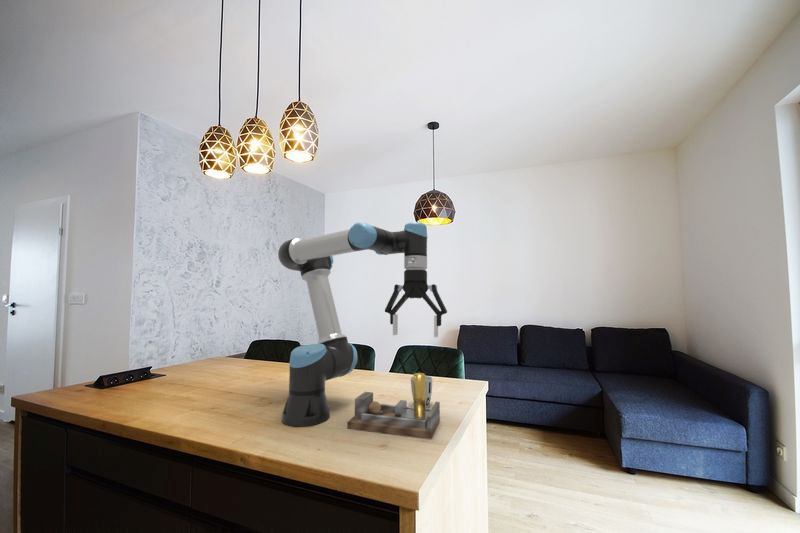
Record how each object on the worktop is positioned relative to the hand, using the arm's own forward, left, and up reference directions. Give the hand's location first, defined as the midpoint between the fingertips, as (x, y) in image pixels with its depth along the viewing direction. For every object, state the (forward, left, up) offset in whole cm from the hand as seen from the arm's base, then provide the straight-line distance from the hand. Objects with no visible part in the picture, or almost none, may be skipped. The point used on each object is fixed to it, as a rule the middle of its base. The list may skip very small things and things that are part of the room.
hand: (415, 335), depth 101 cm
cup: (-2, +19, -28) cm, 34 cm away
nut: (-13, -1, -25) cm, 28 cm away
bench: (-6, -1, -28) cm, 28 cm away
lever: (0, -1, -25) cm, 25 cm away
